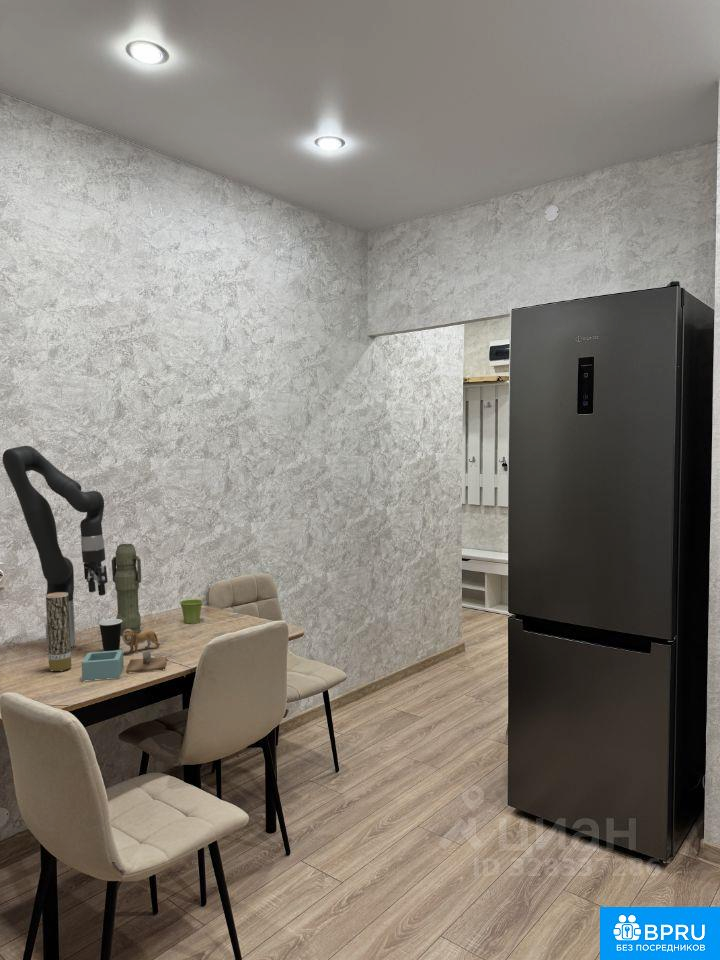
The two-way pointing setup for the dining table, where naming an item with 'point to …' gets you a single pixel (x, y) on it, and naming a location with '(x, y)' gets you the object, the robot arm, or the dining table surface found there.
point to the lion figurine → (139, 639)
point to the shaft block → (146, 663)
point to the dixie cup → (110, 634)
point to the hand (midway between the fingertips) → (97, 593)
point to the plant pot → (191, 610)
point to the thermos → (127, 586)
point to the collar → (102, 665)
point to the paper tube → (58, 631)
